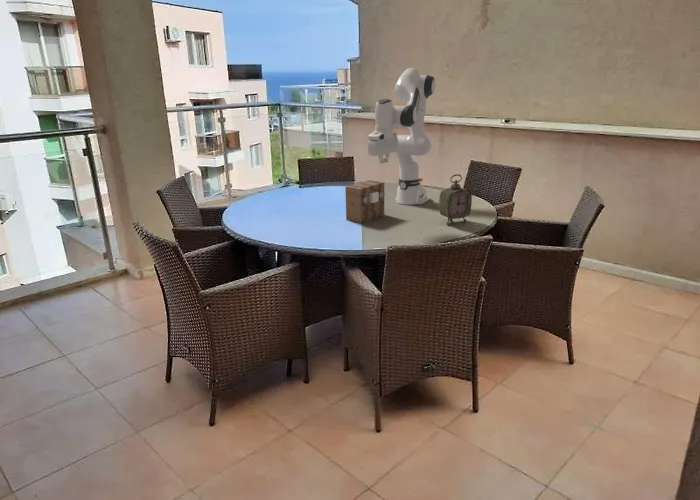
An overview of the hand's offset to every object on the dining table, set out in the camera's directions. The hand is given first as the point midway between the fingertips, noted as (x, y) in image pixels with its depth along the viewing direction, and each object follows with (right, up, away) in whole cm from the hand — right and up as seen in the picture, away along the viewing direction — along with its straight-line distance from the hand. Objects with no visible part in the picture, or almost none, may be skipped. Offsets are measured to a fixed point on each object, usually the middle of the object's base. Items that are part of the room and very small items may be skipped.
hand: (383, 162), depth 240 cm
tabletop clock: (+36, -29, +9) cm, 47 cm away
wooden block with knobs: (-8, -26, +21) cm, 34 cm away
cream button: (-5, -18, +15) cm, 24 cm away
